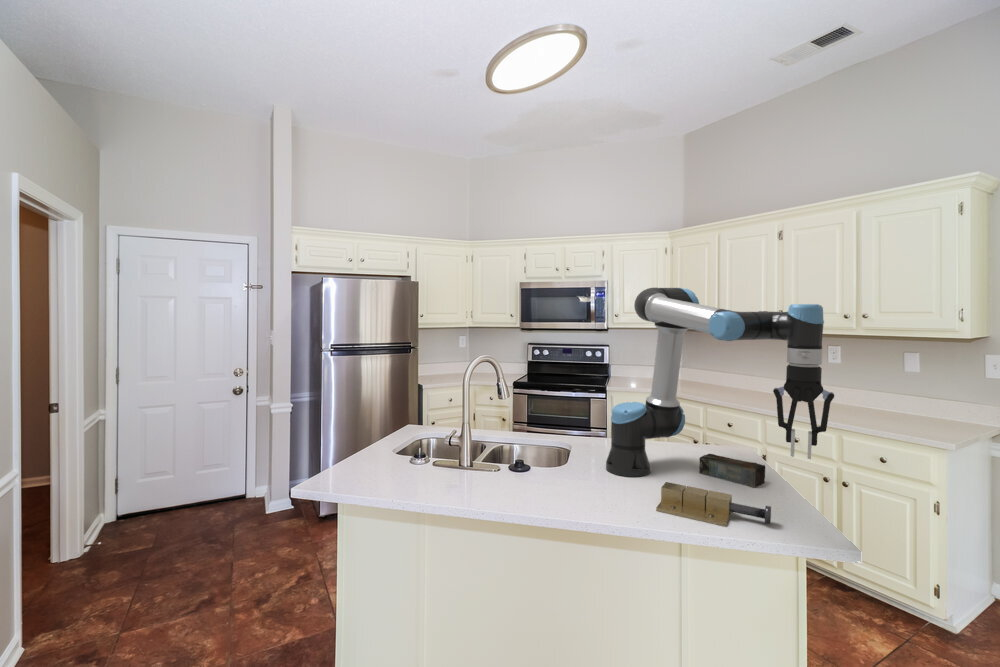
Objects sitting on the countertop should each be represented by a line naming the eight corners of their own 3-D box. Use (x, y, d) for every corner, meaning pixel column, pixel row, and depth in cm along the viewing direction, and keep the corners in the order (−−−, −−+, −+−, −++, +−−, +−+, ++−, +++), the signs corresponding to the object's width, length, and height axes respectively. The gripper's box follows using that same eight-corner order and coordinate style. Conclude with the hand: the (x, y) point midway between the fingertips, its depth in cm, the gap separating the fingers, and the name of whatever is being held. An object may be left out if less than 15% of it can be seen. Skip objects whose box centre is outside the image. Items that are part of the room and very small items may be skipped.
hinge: (656, 510, 136) (656, 492, 136) (669, 493, 149) (670, 477, 149) (725, 526, 127) (726, 507, 126) (733, 506, 139) (734, 489, 139)
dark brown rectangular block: (708, 468, 173) (709, 450, 173) (766, 483, 159) (767, 463, 158) (698, 473, 168) (698, 455, 167) (757, 489, 153) (757, 469, 153)
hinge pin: (692, 509, 136) (692, 494, 136) (695, 504, 140) (695, 489, 140) (769, 526, 126) (770, 510, 126) (770, 520, 130) (771, 504, 129)
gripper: (766, 364, 123) (763, 454, 124) (843, 368, 115) (839, 466, 116) (768, 361, 130) (766, 447, 131) (841, 365, 121) (838, 457, 122)
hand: (800, 456), depth 123 cm, fingers open, 3 cm apart
